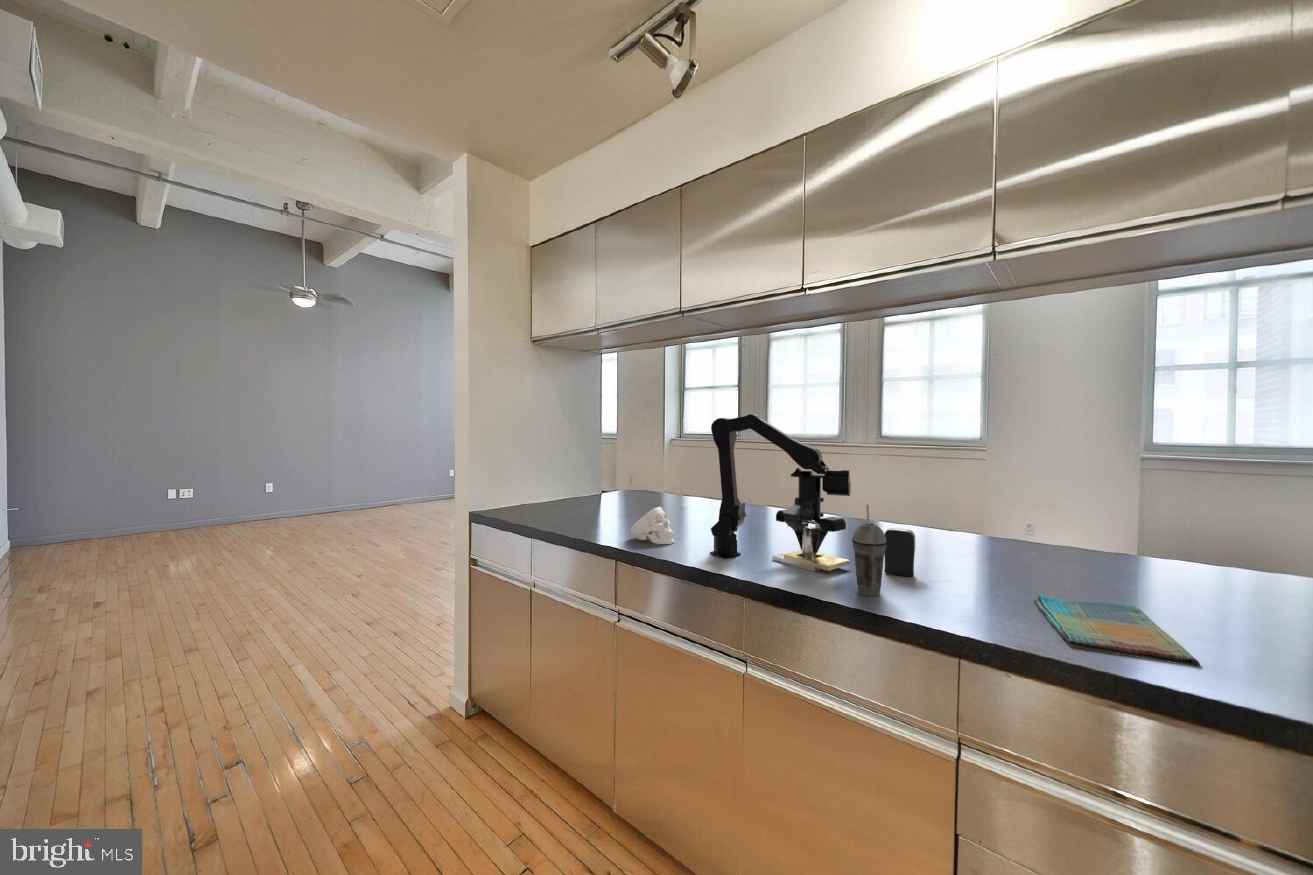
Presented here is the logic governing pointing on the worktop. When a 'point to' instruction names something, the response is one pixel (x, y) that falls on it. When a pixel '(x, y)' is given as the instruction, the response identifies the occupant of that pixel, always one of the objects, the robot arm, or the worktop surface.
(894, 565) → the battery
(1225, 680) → the worktop surface
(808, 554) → the pin
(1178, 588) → the worktop surface
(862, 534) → the beverage cup
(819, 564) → the cream inset tray
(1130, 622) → the dish towel
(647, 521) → the skull bowl
